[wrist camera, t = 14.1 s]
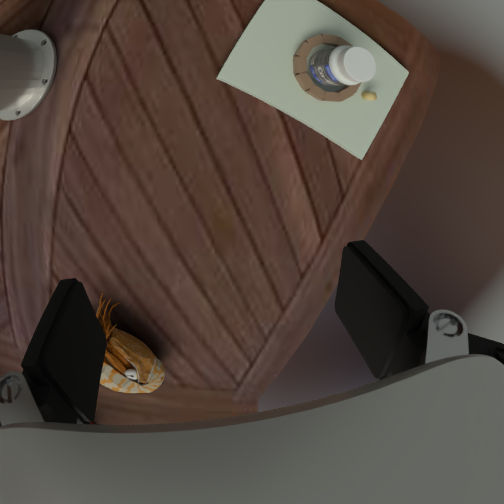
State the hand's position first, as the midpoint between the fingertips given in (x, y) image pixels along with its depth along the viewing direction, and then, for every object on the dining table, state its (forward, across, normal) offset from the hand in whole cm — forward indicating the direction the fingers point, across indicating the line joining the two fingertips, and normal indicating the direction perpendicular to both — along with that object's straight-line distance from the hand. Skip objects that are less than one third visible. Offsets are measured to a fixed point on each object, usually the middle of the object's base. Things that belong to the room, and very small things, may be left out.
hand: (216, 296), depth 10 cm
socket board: (+28, -16, -10) cm, 34 cm away
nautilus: (+29, +17, +29) cm, 44 cm away
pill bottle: (+27, -16, -10) cm, 33 cm away
